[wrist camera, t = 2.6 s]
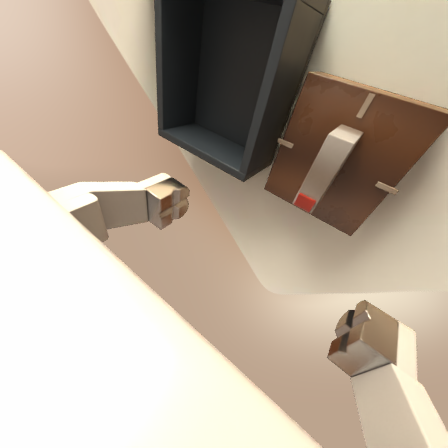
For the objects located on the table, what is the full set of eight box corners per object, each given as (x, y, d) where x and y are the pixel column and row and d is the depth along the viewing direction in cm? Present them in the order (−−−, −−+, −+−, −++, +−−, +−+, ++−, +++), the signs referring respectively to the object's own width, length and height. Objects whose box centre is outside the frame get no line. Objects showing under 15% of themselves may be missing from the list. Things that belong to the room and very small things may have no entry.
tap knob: (341, 123, 15) (327, 134, 12) (364, 132, 14) (354, 144, 12) (306, 187, 19) (290, 205, 16) (323, 196, 18) (309, 215, 16)
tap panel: (316, 70, 17) (302, 69, 15) (456, 111, 14) (465, 118, 11) (273, 177, 24) (260, 188, 21) (360, 222, 20) (354, 239, 18)
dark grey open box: (204, -22, 18) (152, -46, 15) (331, 0, 14) (304, -25, 11) (192, 126, 27) (158, 134, 23) (270, 164, 23) (243, 182, 19)
